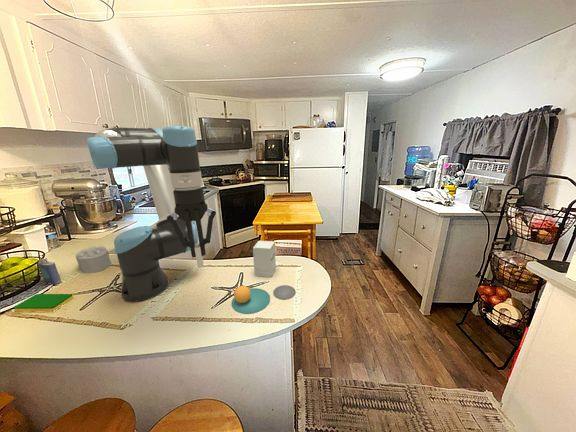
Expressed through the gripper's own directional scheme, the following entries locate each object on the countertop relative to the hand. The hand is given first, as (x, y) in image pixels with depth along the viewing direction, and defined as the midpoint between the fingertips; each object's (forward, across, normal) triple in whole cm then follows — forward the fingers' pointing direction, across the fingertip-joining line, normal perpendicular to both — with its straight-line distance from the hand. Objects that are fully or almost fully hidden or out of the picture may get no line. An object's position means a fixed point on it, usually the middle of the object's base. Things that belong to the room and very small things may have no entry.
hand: (200, 265), depth 67 cm
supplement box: (+17, +23, +16) cm, 33 cm away
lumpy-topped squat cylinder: (+17, -48, +49) cm, 71 cm away
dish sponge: (+17, -53, +24) cm, 61 cm away
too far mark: (+16, +26, 0) cm, 31 cm away
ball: (+14, +11, 0) cm, 18 cm away
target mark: (+16, +14, 0) cm, 22 cm away
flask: (+17, -60, +41) cm, 75 cm away
